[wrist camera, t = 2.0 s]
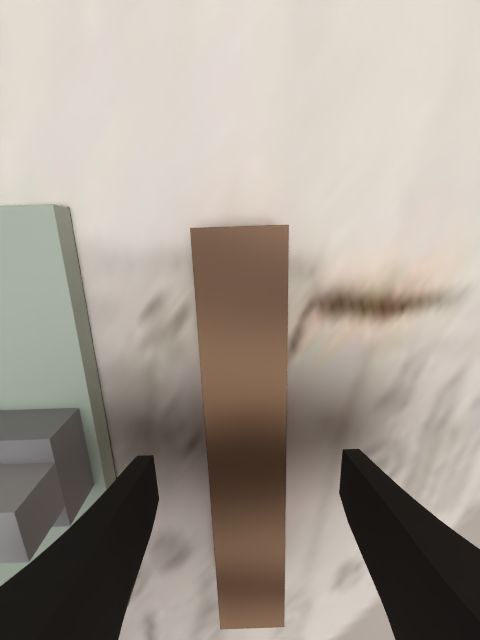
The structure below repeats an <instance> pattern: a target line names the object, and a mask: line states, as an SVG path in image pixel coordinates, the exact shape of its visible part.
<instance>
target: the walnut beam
mask: <svg viewBox="0 0 480 640" xmlns="http://www.w3.org/2000/svg"><path fill="white" fill-rule="evenodd" d="M190 233H191V246H192V259H193V273H194V286H195V299H196V312H197V326H198V339H199V352H200V365H201V379H202V392H203V405H204V418H205V431H206V445H207V458H208V471H209V484H210V498H211V511H212V524H213V537H214V551H215V564H216V577H217V590H218V604H219V617H220V629H243V628H272V627H284V599H285V510H286V421H287V332H288V243H289V225H266V226H237V227H208V228H190Z"/></svg>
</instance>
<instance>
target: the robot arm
mask: <svg viewBox="0 0 480 640" xmlns="http://www.w3.org/2000/svg"><path fill="white" fill-rule="evenodd" d="M339 494H340V497H341V500H342V504H343V507H344V510H345V513H346V517H347V520H348V523H349V525H350V528H351V530H352V533H353V535H354V537H355V540H356V542H357V544H358V547H359V549H360V551H361V554H362V556H363V558H364V561H365V563H366V566H367V568H368V570H369V573H370V575H371V577H372V580H373V582H374V584H375V587H376V589H377V591H378V594H379V596H380V598H381V601H382V603H383V606H384V609H385V611H386V614H387V616H388V619H389V622H390V625H391V628H392V631H393V634H394V637H395V639H396V640H480V549H479V548H477V547H475V546H474V545H473V544H472V543H470V542H469V541H467V540H466V539H465V538H463V537H462V536H460V535H459V534H458V533H456V532H455V531H454V530H452V529H451V528H450V527H448V526H447V525H446V524H444V523H443V522H442V521H440V520H439V519H438V518H437V517H435V516H434V515H433V514H432V513H430V512H429V511H428V510H427V509H425V508H424V507H423V506H422V505H421V504H419V503H418V502H417V501H416V500H415V499H413V498H412V497H411V496H410V495H409V494H408V493H406V492H405V491H404V490H403V489H402V488H401V487H400V486H398V485H397V484H396V483H395V482H394V481H393V480H392V479H391V478H390V477H389V476H387V475H386V474H385V473H384V472H383V471H382V470H381V469H380V468H379V467H378V466H377V465H376V464H375V463H373V462H372V461H371V460H370V459H369V458H368V457H367V456H366V455H365V454H364V453H363V452H362V451H361V450H359V449H343V453H342V465H341V478H340V490H339ZM158 501H159V495H158V487H157V480H156V472H155V464H154V457H153V455H149V456H137V457H136V458H135V459H134V460H133V461H132V462H131V463H130V464H129V465H128V466H127V468H126V469H125V470H124V471H123V472H122V473H121V474H120V475H119V477H118V478H117V479H116V480H115V481H114V482H113V483H112V484H111V485H110V487H109V488H108V489H107V490H106V491H105V492H104V493H103V494H102V495H101V496H100V497H99V498H98V499H97V500H96V502H95V503H94V504H93V505H92V506H91V507H90V508H89V509H88V510H87V511H86V512H85V513H84V514H83V515H82V516H81V517H80V518H79V519H78V520H77V521H76V522H75V523H74V524H73V525H72V526H71V527H70V528H69V529H68V530H66V531H65V532H64V533H63V534H62V535H61V536H60V537H59V538H58V539H57V540H56V541H55V542H53V543H52V544H51V545H50V546H49V547H48V548H47V549H45V550H44V551H43V552H42V553H41V554H40V555H39V556H37V557H36V558H35V559H34V560H33V561H31V562H30V563H29V564H28V565H26V566H25V567H24V568H23V569H21V570H20V571H19V572H18V573H16V574H15V575H14V576H13V577H11V578H10V579H9V580H7V581H6V582H5V583H4V584H2V585H1V586H0V640H118V638H119V634H120V630H121V626H122V622H123V619H124V616H125V612H126V609H127V605H128V602H129V599H130V596H131V593H132V590H133V587H134V584H135V581H136V578H137V575H138V572H139V569H140V566H141V563H142V560H143V557H144V554H145V551H146V547H147V544H148V541H149V538H150V535H151V532H152V529H153V524H154V520H155V515H156V510H157V506H158Z"/></svg>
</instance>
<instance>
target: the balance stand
mask: <svg viewBox="0 0 480 640" xmlns="http://www.w3.org/2000/svg"><path fill="white" fill-rule="evenodd" d="M115 480H116V475H115V469H114V464H113V458H112V452H111V446H110V441H109V435H108V429H107V423H106V418H105V412H104V406H103V400H102V395H101V389H100V383H99V377H98V372H97V366H96V360H95V355H94V349H93V343H92V337H91V332H90V326H89V320H88V314H87V309H86V303H85V297H84V291H83V286H82V280H81V274H80V268H79V263H78V257H77V251H76V245H75V240H74V234H73V228H72V222H71V217H70V211H69V208H68V207H63V206H58V205H20V206H0V586H1V585H2V584H4V583H5V582H6V581H7V580H9V579H10V578H11V577H13V576H14V575H15V574H16V573H18V572H19V571H20V570H21V569H23V568H24V567H25V566H26V565H28V564H29V563H30V562H31V561H33V560H34V559H35V558H36V557H37V556H39V555H40V554H41V553H42V552H43V551H44V550H45V549H47V548H48V547H49V546H50V545H51V544H52V543H53V542H55V541H56V540H57V539H58V538H59V537H60V536H61V535H62V534H63V533H64V532H65V531H66V530H68V529H69V528H70V527H71V526H72V525H73V524H74V523H75V522H76V521H77V520H78V519H79V518H80V517H81V516H82V515H83V514H84V513H85V512H86V511H87V510H88V509H89V508H90V507H91V506H92V505H93V504H94V503H95V502H96V500H97V499H98V498H99V497H100V496H101V495H102V494H103V493H104V492H105V491H106V490H107V489H108V488H109V487H110V485H111V484H112V483H113V482H114V481H115ZM134 585H135V584H134ZM133 588H134V587H133ZM132 592H133V590H132ZM131 595H132V593H131ZM130 598H131V596H130ZM129 602H130V599H129ZM129 602H128V605H129ZM128 605H127V606H128Z"/></svg>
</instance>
